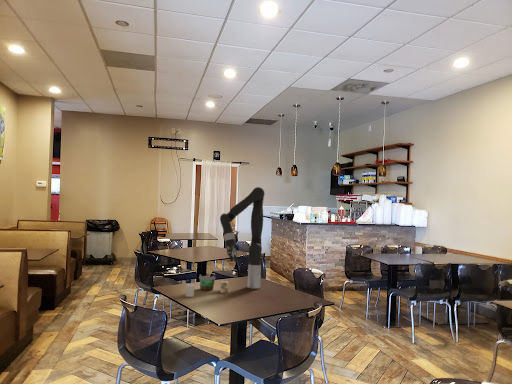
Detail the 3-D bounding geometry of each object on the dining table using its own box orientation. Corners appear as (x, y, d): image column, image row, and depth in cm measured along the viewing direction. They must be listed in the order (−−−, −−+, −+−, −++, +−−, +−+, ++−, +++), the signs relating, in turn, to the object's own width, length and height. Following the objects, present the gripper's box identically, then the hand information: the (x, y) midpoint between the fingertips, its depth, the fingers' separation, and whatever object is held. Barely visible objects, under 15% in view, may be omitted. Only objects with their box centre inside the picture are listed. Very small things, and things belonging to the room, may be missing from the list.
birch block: (227, 291, 253) (227, 281, 253) (227, 293, 248) (228, 282, 248) (220, 291, 252) (220, 281, 253) (220, 292, 247) (221, 282, 248)
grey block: (193, 294, 238) (194, 284, 238) (193, 296, 233) (194, 285, 233) (186, 294, 237) (186, 284, 237) (185, 296, 232) (186, 285, 233)
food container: (195, 290, 251) (196, 275, 252) (199, 288, 257) (199, 274, 257) (211, 292, 248) (212, 277, 248) (214, 290, 253) (215, 276, 254)
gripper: (231, 237, 260) (235, 259, 256) (237, 239, 274) (241, 260, 269) (221, 240, 262) (225, 262, 258) (228, 241, 275) (232, 262, 271)
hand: (234, 261), depth 263 cm, fingers open, 8 cm apart
